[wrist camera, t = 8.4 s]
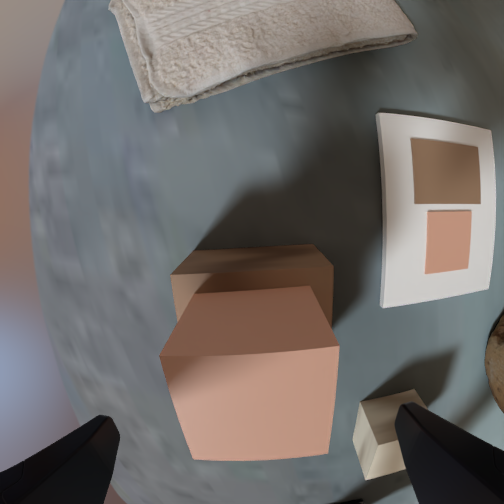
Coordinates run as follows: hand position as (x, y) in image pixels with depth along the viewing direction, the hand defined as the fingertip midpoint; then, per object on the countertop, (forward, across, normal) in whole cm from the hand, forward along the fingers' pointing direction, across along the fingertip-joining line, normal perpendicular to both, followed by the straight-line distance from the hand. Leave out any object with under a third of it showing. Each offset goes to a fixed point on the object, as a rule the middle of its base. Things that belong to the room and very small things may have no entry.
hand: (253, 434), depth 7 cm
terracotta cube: (+6, 0, 0) cm, 6 cm away
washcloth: (+11, -2, -19) cm, 22 cm away
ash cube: (+11, -10, +12) cm, 19 cm away
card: (+11, -13, -5) cm, 17 cm away
